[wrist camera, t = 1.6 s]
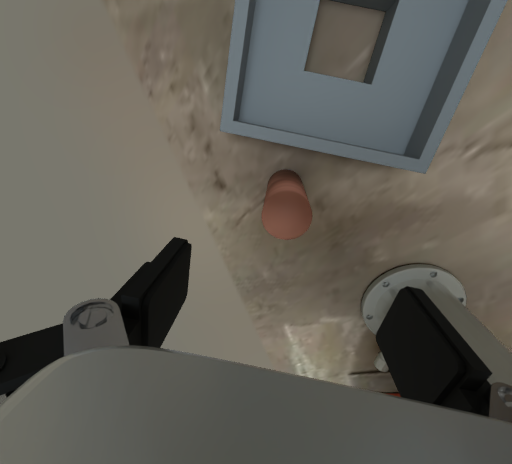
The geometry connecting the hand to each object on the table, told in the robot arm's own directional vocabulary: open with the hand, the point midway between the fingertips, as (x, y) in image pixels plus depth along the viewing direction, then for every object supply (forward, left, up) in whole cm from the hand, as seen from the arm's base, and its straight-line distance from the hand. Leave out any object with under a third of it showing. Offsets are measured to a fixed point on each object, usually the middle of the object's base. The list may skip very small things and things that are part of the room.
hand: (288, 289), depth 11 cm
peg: (0, 0, -20) cm, 20 cm away
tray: (+14, -2, -20) cm, 24 cm away
